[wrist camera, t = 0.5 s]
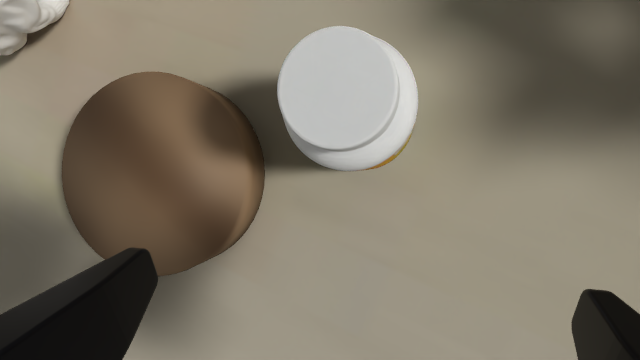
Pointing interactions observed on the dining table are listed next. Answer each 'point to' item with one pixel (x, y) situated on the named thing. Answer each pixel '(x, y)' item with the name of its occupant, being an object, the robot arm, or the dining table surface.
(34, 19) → the white lumpy figure
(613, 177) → the dining table surface
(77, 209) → the plinth
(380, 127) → the supplement bottle
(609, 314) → the robot arm
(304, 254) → the dining table surface
